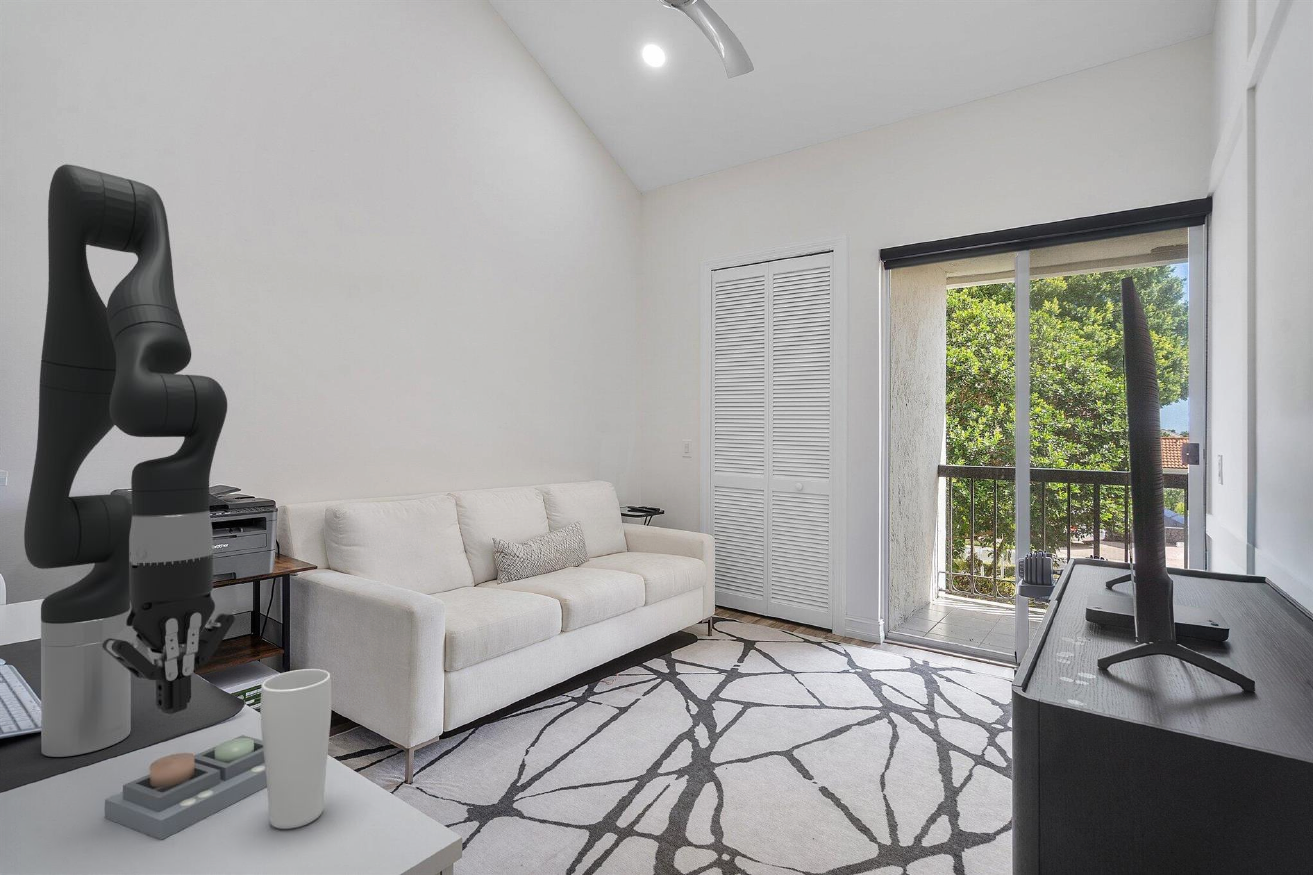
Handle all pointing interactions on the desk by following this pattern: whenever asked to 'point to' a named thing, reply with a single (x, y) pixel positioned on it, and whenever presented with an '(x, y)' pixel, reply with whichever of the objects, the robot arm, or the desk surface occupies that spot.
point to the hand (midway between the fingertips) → (173, 710)
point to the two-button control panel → (188, 794)
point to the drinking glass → (296, 744)
